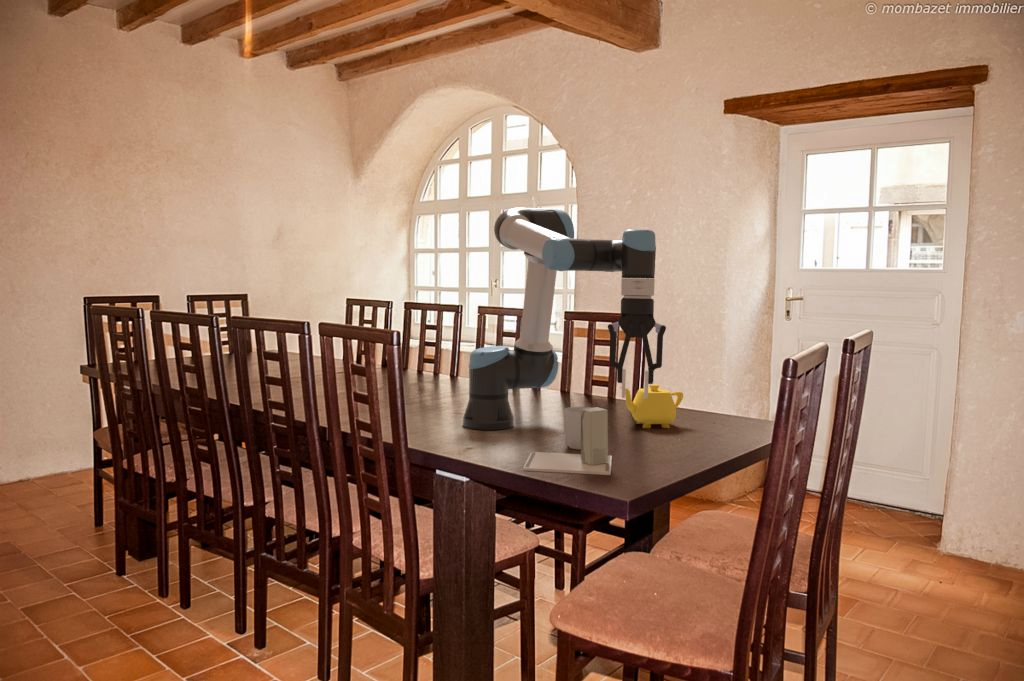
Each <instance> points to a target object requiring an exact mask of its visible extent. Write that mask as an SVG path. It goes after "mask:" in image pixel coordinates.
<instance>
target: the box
mask: <svg viewBox="0 0 1024 681" xmlns="http://www.w3.org/2000/svg"><path fill="white" fill-rule="evenodd" d="M608 420H609V416H608V409H605V408H602V407H597V406H596V407H591V408H587V409H581V450H580V454H581V461H582V462H584V463H587V464H589V465H596V464H601V463H606V462H608V456H609V432H608V430H609V429H608Z"/></svg>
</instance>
